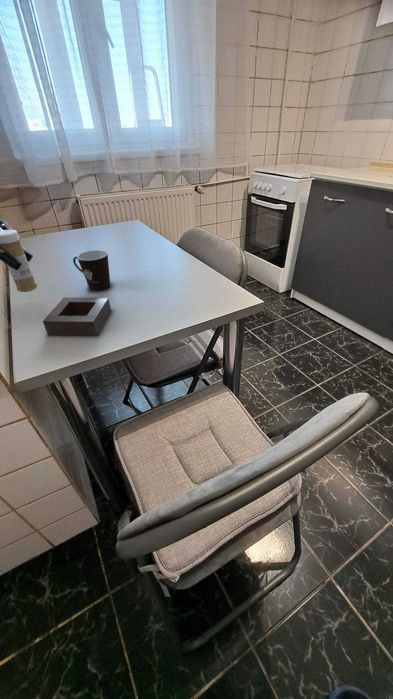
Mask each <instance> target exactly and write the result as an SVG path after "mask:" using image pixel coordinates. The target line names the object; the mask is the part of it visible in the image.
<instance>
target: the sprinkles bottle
mask: <svg viewBox="0 0 393 699" xmlns="http://www.w3.org/2000/svg"><path fill="white" fill-rule="evenodd" d="M19 237H20V235H19V233H18V231H17V230H15V229H13V230H2V231H0V246H1V247H2V248H3V249H4V250H5V252H8V253H9V254H11V255H12V256H14V257H15V258H16V259H18V260H19V261H20V262H21V263H22V265H21V267H20V268H19V269H18V270H15V269H13V268H11V267H10V266H8V265H7V264H6V266H7V268H8V271H9V273H10V275H11V278H12V280H13V281H14V284H15V287H16V290H17V291H18V292H20V293H28V292H32V291H34V290H35V289H37V287H38V284H37V283H36V280H35V277H34V275H33V271H32V269H31V266H30V263H29V262H28V261H27V259H26V256H25V254H24V251H23V248H24V247H23V246H22V244H21V239H20V238H21V237H20V238H19ZM19 239H20V240H19ZM22 247H23V248H22Z"/></svg>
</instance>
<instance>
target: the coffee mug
mask: <svg viewBox="0 0 393 699" xmlns="http://www.w3.org/2000/svg"><path fill="white" fill-rule="evenodd" d="M76 260H77V261H78V263H79V265H80V267H79V265H78V264H77V262H76ZM72 261H73V262H72V263H73V265H74V266H75V267H76V269H77V270H78V271H79V272H80V273H82V274H83V276H84V278H85V281H86V283H87V286H88V288H89V290H90V291H92V292H103V291H107V290H108V289H110V288H111V274H110V265H109V264H110V263H109V254H108V252H107V251H106V250H102V249H94V250H86V251H83V252H81V253H78V254H77V256H74V257H73V258H72Z"/></svg>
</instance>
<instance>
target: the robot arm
mask: <svg viewBox="0 0 393 699" xmlns="http://www.w3.org/2000/svg"><path fill="white" fill-rule="evenodd" d="M2 230H14V229H13V228H12V227H11V226H10V225H9V224H8V223H7V222H6V221H5V220H4V219H2V218H1V219H0V231H2ZM19 238H20V239H19V240H20V241H21V238H22V237H21V236H19ZM22 248H23V251H24V254H25V256H26V259H27V261H28V263H29V262H31V261H32V259H33V257H34V255H33V254H32V253H31V252H30V251H29V250H28V249H26V248H25V247H23V246H22ZM0 261H1V262H3V263H4V264H6V266H7V265H8V266H10V267H11V268H13V269H15V270H18V269H19V268H20V267H21V265H22V263H21V262H20V261H19V260H18V259H16V258H15V257H14V256H12V255H11V254H9V253H8V252H5V250H4V249H3V248H2V247H1V246H0ZM8 266H7V267H8Z"/></svg>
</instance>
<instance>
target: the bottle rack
mask: <svg viewBox="0 0 393 699" xmlns="http://www.w3.org/2000/svg"><path fill="white" fill-rule="evenodd" d="M111 313H112V306H111V303H110V298H109V297H78V296H77V297H76V296H75V297H71V296H70V297H68V296H67V297H62V299H61V300H60V301H59V302H58V303H57V304H56V306H55V307H54V308H53V309H52V310H51V311H50V312H49V313H48V315H46V317H45V318H44V319H43V320H42V323H43V326H44V329H45V331H46V333H47V336H52V337H53V336H55V337H57V336H60V337H62V336H63V337H65V336H66V337H98V336H99V334H100V332H101V331H102V328H103V326H104V325H105V324H106V322H107V319H108V318H109V316H110V314H111Z"/></svg>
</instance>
